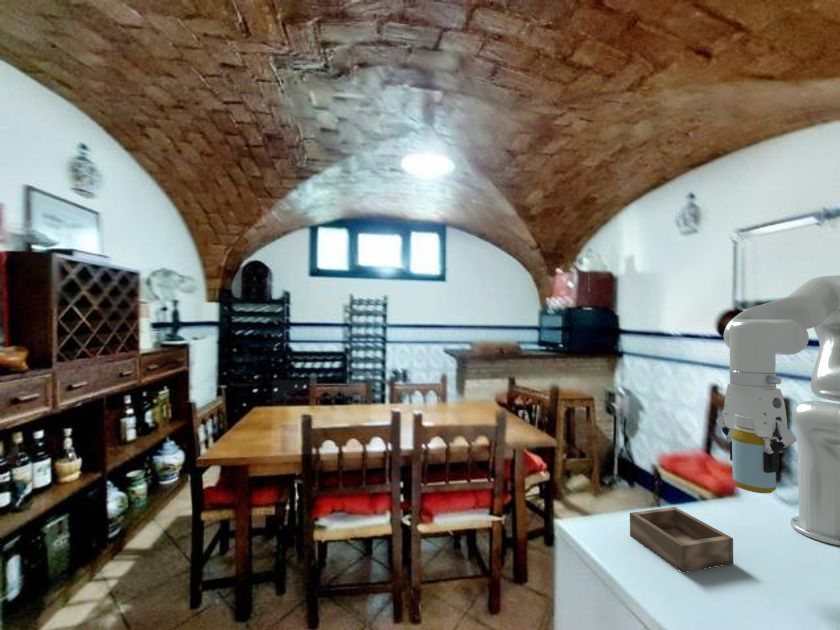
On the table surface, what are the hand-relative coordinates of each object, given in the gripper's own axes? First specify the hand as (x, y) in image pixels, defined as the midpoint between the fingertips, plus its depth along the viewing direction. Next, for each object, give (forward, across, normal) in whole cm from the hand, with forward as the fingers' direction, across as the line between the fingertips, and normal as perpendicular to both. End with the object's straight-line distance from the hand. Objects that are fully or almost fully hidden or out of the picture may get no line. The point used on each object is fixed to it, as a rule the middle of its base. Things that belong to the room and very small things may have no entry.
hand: (753, 465), depth 87 cm
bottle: (+5, 0, 0) cm, 5 cm away
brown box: (+22, +10, +9) cm, 25 cm away
